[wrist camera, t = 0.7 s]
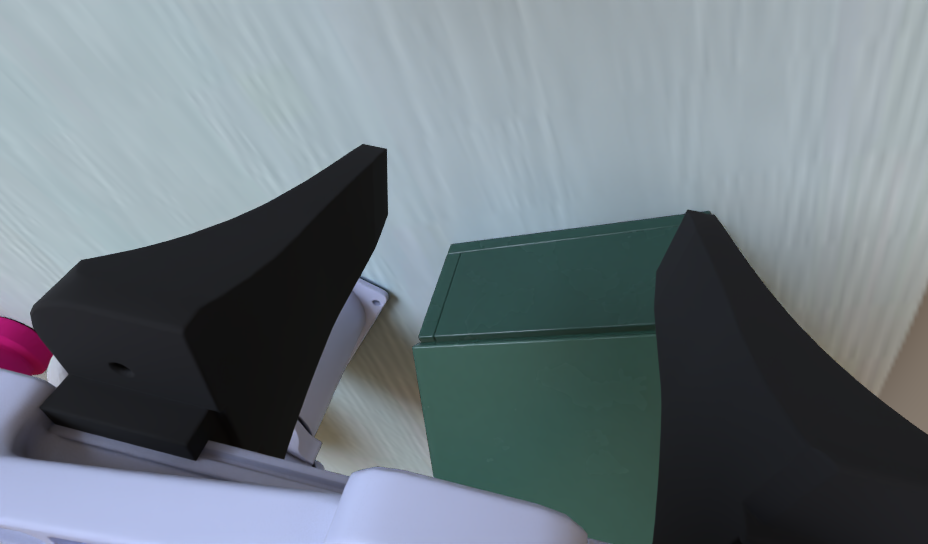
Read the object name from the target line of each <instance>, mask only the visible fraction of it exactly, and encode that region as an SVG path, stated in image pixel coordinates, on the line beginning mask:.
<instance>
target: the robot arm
mask: <svg viewBox="0 0 928 544" xmlns="http://www.w3.org/2000/svg"><path fill="white" fill-rule="evenodd" d="M387 215H388V191H387V149H385V148H380V147H375V146H370V145H365V144H362V145H360V146H359V147H357V148H356V149H354V150H353V151H351V152H349V153H348V154H346V155H345V156H344V157H342V158H341V159H339V160H338V161H336V162H335V163H333V164H332V165H330V166H329V167H327V168H325V169H324V170H322V171H321V172H319V173H318V174H316V175H314V176H313V177H311V178H310V179H308V180H307V181H305V182H303V183H302V184H300V185H298V186H296V187H295V188H293V189H291V190H289V191H287V192H286V193H284V194H282V195H280V196H279V197H277V198H275V199H273V200H271V201H270V202H268V203H266V204H264V205H262V206H260V207H257V208H255V209H253V210H251V211H249V212H246V213H244V214H242V215H240V216H238V217H235V218H233V219H230V220H228V221H225V222H222V223H220V224H217V225H214V226H211V227H209V228H206V229H203V230H200V231H198V232H195V233H192V234H189V235H186V236H183V237H179V238H176V239H172V240H169V241H166V242H162V243H158V244H154V245H151V246H147V247H143V248H138V249H134V250H130V251H125V252H120V253H115V254H110V255H105V256H100V257H95V258H90V259H84V260H81V261H80V262H79V263H78V264H77V265H75V266H74V267H73V268H72V269H71V270H70V271H69V272H68V273H67V274H66V275H65V276H64V277H63V278H62V279H61V280H60V281H59V282H58V283H57V284H55V285H54V286H53V287H52V288H51V289H50V290H49V291H48V292H47V293H46V294H45V295H44V296H43V297H42V298H41V299H40V300H39V301H38V302H37V303H36V304H34V305H33V308H32V310H31V312H30V315H31V320H32V325H33V328H34V330H35V331H36V333H37V334H38V336H39V338H40V339H41V340H42V341H43V343H44V344H45V345H46V346H47V348H48V349H49V350H50V351H51V353H52V354H53V355H54V356H55V358H56V359H57V360H58V362H59V363H60V364H61V365H62V367H63V368H64V369H65V370H66V372H67V373H68V376H67V377H66V378H65V379H64V380H63V381H62V382H61V383H60V385H59V386H58V387H57V388H56V387H55V386H54V385H52V384H51V383H49V382H47V381H45V380H42V379H40V378H37V377H33V376H29V375H25V374H21V373H17V372H14V371H10V370H6V369H2V368H0V544H610V543H606V542H602V541H598V540H595V539H591V538H587V533H586V532H585V531H584V529H583V528H582V527H581V526H580V525H578V524H577V523H576V522H575V521H573V520H572V519H571V518H570V517H568V516H567V515H566V514H563V513H561V512H558V511H556V510H553V509H550V508H548V507H545V506H542V505H540V504H536V503H532V502H528V501H524V500H520V499H516V498H512V497H508V496H504V495H500V494H497V493H493V492H489V491H485V490H481V489H477V488H473V487H469V486H465V485H461V484H457V483H453V482H449V481H445V480H441V479H437V478H434V477H430V476H426V475H422V474H418V473H414V472H410V471H406V470H400V469H393V468H385V467H378V466H377V467H372V468H367V469H362V470H358V471H356V472H353V473H352V474H351V475H350V476H346V475H342V474H338V473H334V472H330V471H327V470H324V466H323V465H322V464H321V463H320V462H318V461H316V460H315V459H316V457H317V454H318V452H319V450H320V448H321V445H322V442H321V441H319V440H318V439H316V438H315V434H316V432H317V430H318V428H319V426H320V423H321V421H322V419H323V417H324V414H325V412H326V410H327V408H328V406H329V403H330V401H331V399H332V397H333V394H334V392H335V390H336V388H337V386H338V383H339V381H340V379H341V377H342V374H343V372H344V370H345V368H346V366H347V365H348V364H349V362H350V360H351V359H352V357H353V355H354V354H355V352H356V351H357V349H358V347H359V346H360V344H361V343H362V341H363V339H364V338H365V336H366V335H367V333H368V331H369V330H370V328H371V326H372V325H373V323H374V322H375V320H376V318H377V317H378V315H379V314H380V312H381V310H382V309H383V307H384V306H385V304H386V302H387V300H388V298H389V295H388V293H387V292H386V291H385V290H383V289H381V288H379V287H377V286H375V285H373V284H371V283H369V282H367V281H365V280H362V279H360V278H359V277H360V276H361V274H362V272H363V270H364V268H365V266H366V264H367V263H368V261H369V259H370V257H371V255H372V253H373V251H374V249H375V248H376V245H377V242H378V240H379V237H380V235H381V232H382V229H383V227H384V224H385V221H386V218H387ZM654 314H655V327H656V339H657V351H658V362H659V373H660V385H661V433H660V455H659V473H658V487H657V500H656V512H655V524H654V533H653V543H652V544H928V434H926V433H925V432H923V431H922V430H920V429H919V428H917V427H916V426H915V425H913V424H912V423H910V422H909V421H908V420H906V419H905V418H904V417H902V416H901V415H900V414H898V413H897V412H896V411H894V410H893V409H892V408H891V407H889V406H888V405H886V404H885V403H884V402H883V401H881V400H880V399H879V398H878V397H876V396H875V395H874V394H873V393H871V392H870V391H869V390H868V389H866V388H865V387H864V386H863V385H862V384H860V383H859V382H858V381H857V380H856V379H855V378H854V377H852V376H851V375H850V374H849V373H848V372H847V371H846V370H844V369H843V368H842V367H841V366H840V365H839V364H838V363H836V362H835V361H834V360H833V359H832V358H831V357H830V356H829V355H828V354H827V353H826V352H825V351H824V350H823V349H822V348H821V347H820V346H819V345H818V344H817V343H816V342H815V341H814V340H813V339H812V338H811V337H810V336H809V335H808V334H807V333H806V332H805V331H804V330H803V329H802V328H801V327H800V326H799V325H798V324H797V323H796V322H795V321H794V319H793V318H792V317H791V316H790V315H789V314H788V313H787V311H786V310H785V309H784V308H783V307H782V305H781V304H780V303H779V302H778V301H777V300H776V298H775V297H774V296H773V295H772V294H771V292H770V291H769V290H768V288H767V287H766V286H765V285H764V283H763V282H762V281H761V279H760V278H759V277H758V275H757V274H756V273H755V271H754V270H753V269H752V267H751V266H750V265H749V263H748V262H747V260H746V259H745V258H744V256H743V255H742V253H741V252H740V250H739V249H738V248H737V246H736V245H735V243H734V242H733V240H732V239H731V237H730V236H729V235H728V233H727V232H726V230H725V229H724V227H723V226H722V225H721V223H720V222H719V220H718V219H717V218H716V216H715V215H712V214H707V213H702V212H697V211H692V210H687V212H686V214H685V216H684V218H683V220H682V222H681V224H680V226H679V228H678V230H677V232H676V234H675V236H674V237H673V239H672V241H671V243H670V245H669V247H668V249H667V251H666V253H665V255H664V257H663V259H662V261H661V263H660V265H659V267H658V269H657V271H656V283H655V299H654Z"/></svg>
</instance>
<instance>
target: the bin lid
mask: <svg viewBox="0 0 928 544" xmlns="http://www.w3.org/2000/svg"><path fill="white" fill-rule="evenodd" d="M412 349H413V355H414V361H415V367H416V373H417V379H418V385H419V391H420V398H421V404H422V410H423V416H424V422H425V428H426V434H427V440H428V446H429V452H430V458H431V464H432V470H433V476H434V478H437V479H441V480H445V481H449V482H453V483H457V484H461V485H465V486H469V487H473V488H477V489H481V490H485V491H489V492H493V493H497V494H500V495H504V496H508V497H512V498H516V499H520V500H524V501H528V502H532V503H536V504H540V505H542V506H545V507H548V508H550V509H553V510H556V511H558V512H561V513H563V514H566V515H567V516H568V517H570V518H571V519H572V520H573V521H575V522H576V523H577V524H578V525H580V526H581V527H582V528H583V529H584V531H585V532H586V533H587V538H591V539H595V540H598V541H602V542H606V543H610V544H652V543H653V533H654V524H655V512H656V500H657V487H658V473H659V455H660V433H661V385H660V373H659V362H658V351H657V339H656V330H647V331H628V332H609V333H590V334H571V335H553V336H534V337H515V338H496V339H478V340H459V341H440V342H421V343H418V344H416V345H414V346H413V347H412Z"/></svg>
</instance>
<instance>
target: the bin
mask: <svg viewBox="0 0 928 544" xmlns="http://www.w3.org/2000/svg"><path fill="white" fill-rule="evenodd" d="M702 213H707V214H711V213H710V211H705V212H702ZM684 216H685V214H682V215H674V216H666V217H659V218H651V219H643V220H635V221H628V222H620V223H612V224H605V225H597V226H589V227H581V228H574V229H566V230H558V231H551V232H543V233H535V234H527V235H520V236H512V237H504V238H496V239H489V240H481V241H473V242H466V243H458V244H451V246H450V248H449V251H448V255H447V257H446V259H445V262H444V265H443V268H442V271H441V274H440V277H439V279H438V282H437V285H436V288H435V291H434V294H433V296H432V299H431V302H430V305H429V308H428V311H427V313H426V316H425V319H424V322H423V325H422V328H421V330H420V333H419V336H418V338H419V340H420V341H421V342H440V341H459V340H478V339H496V338H515V337H534V336H553V335H571V334H590V333H609V332H628V331H647V330H656V327H655V314H654V299H655V283H656V271H657V269H658V267H659V265H660V263H661V261H662V259H663V257H664V255H665V253H666V251H667V249H668V247H669V245H670V243H671V241H672V239H673V237H674V236H675V234H676V232H677V230H678V228H679V226H680V224H681V222H682V220H683V218H684Z"/></svg>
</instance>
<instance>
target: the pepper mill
mask: <svg viewBox="0 0 928 544" xmlns="http://www.w3.org/2000/svg"><path fill="white" fill-rule="evenodd" d="M52 356H53V354H52V353H51V351H50V350H49V349H48V348H47V346H46V345H45V344H44V343H43V341H42V340H41V339H40V338H39V336H38V334H37V333H36V332H35V331H34V330H32V329H30V328H28V327H27V326H25V325H23V324H21V323H18V322H16V321H14V320H10V319H7V318H4V317H0V368H2V369H6V370H10V371H14V372H17V373H21V374H25V375H29V376H32V375H38V374H42V373H43V372H44V371H45V370H46V369H47V368H48V366H49V363H50V360H51V358H52Z"/></svg>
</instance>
